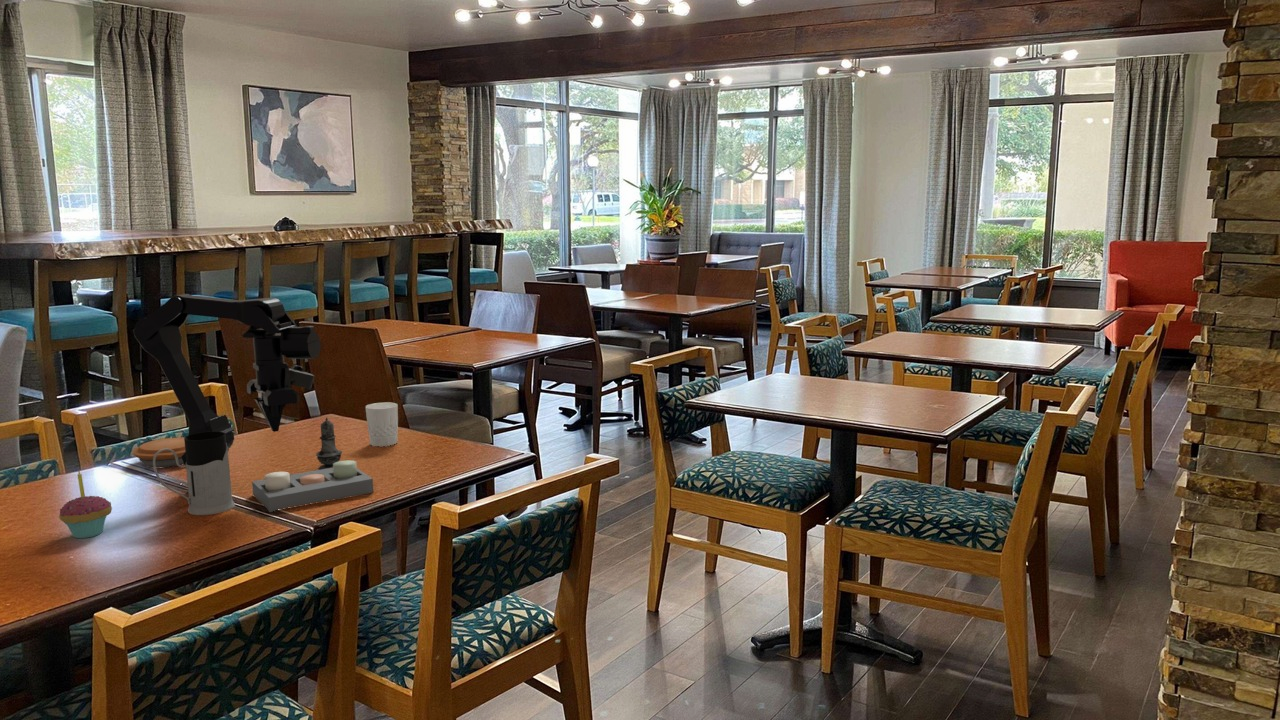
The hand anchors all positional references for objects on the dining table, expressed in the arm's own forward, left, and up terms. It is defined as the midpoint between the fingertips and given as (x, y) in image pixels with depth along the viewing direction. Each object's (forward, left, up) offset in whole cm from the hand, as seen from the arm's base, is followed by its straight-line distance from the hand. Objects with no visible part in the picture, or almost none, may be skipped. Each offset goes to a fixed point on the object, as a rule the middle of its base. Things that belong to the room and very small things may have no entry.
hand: (275, 431), depth 196 cm
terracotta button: (+5, -7, -13) cm, 15 cm away
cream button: (-2, -7, -11) cm, 13 cm away
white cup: (+32, +25, -13) cm, 43 cm away
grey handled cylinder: (-17, -4, -13) cm, 22 cm away
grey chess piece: (+14, +11, -13) cm, 22 cm away
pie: (-15, +41, -13) cm, 46 cm away
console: (+5, -7, -13) cm, 16 cm away
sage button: (+12, -7, -11) cm, 18 cm away
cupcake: (-36, -6, -13) cm, 39 cm away
